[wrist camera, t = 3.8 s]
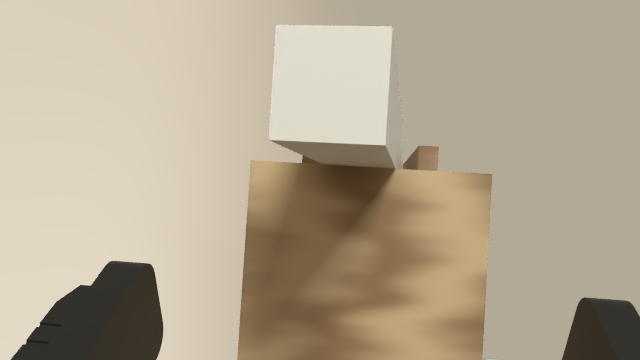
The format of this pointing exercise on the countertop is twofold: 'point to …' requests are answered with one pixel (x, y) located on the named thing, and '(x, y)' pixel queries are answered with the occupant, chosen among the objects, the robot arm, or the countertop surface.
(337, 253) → the tall wood-grain block
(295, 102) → the bar
